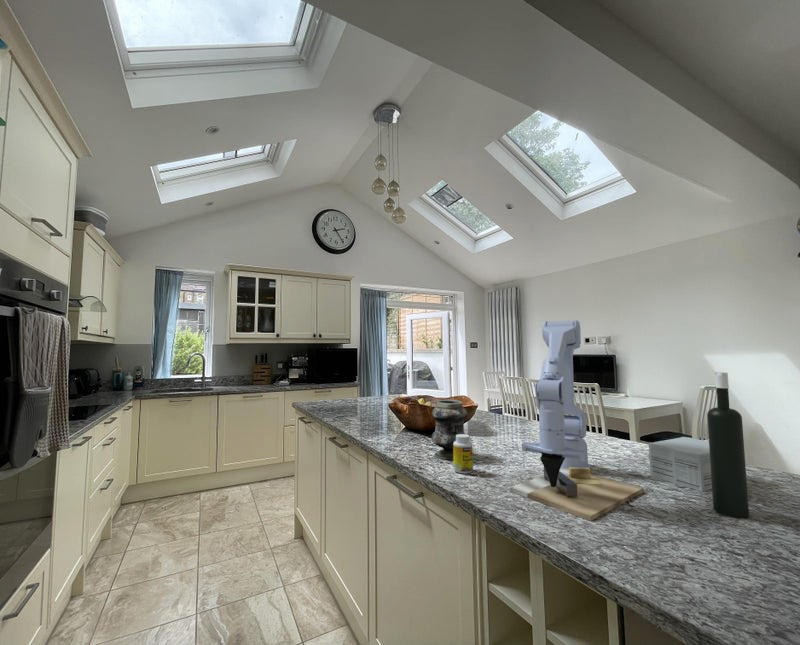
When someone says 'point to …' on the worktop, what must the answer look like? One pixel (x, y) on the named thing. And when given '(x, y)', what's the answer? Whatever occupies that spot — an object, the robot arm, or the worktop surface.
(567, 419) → the robot arm
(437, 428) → the dark grey vase
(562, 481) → the swing bar
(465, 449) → the supplement bottle
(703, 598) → the worktop surface
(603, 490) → the door board
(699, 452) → the supplement box
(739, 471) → the wine bottle
